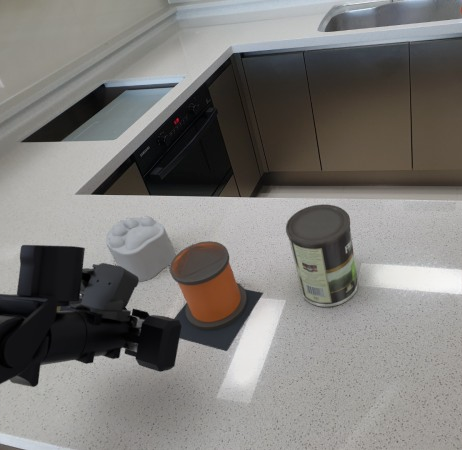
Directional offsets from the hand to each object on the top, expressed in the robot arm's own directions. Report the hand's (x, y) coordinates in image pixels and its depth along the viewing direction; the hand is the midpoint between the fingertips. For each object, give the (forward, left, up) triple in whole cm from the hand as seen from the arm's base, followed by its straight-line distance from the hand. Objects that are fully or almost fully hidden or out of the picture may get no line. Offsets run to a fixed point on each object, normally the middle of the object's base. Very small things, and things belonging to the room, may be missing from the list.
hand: (159, 326), depth 68 cm
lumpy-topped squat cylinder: (+8, +30, -9) cm, 32 cm away
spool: (+11, +6, -9) cm, 15 cm away
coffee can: (+27, -6, -9) cm, 30 cm away
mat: (+10, +5, -9) cm, 14 cm away
